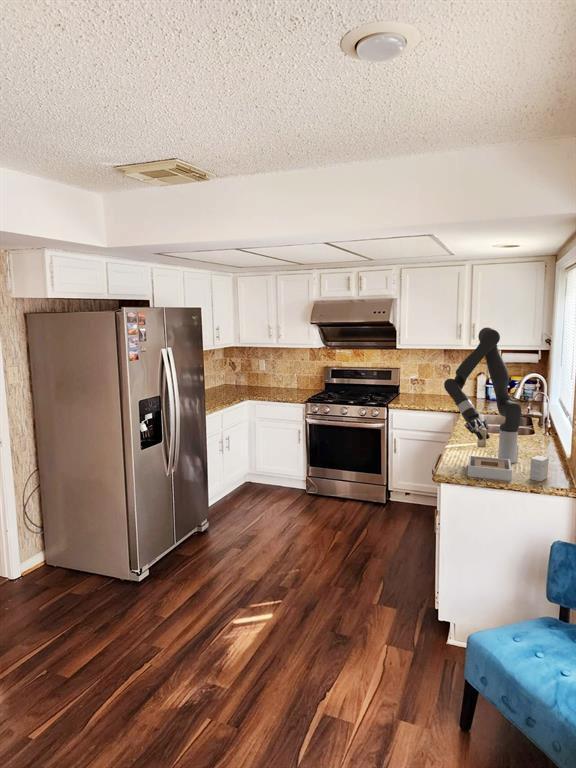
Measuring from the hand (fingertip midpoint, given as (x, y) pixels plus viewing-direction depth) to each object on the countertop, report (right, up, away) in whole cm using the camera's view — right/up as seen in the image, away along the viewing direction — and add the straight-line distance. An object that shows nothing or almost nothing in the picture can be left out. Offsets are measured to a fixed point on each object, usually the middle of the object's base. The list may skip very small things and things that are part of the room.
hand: (484, 438), depth 260 cm
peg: (-1, -4, +2) cm, 5 cm away
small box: (+24, -19, -6) cm, 31 cm away
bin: (+3, -18, +2) cm, 18 cm away
